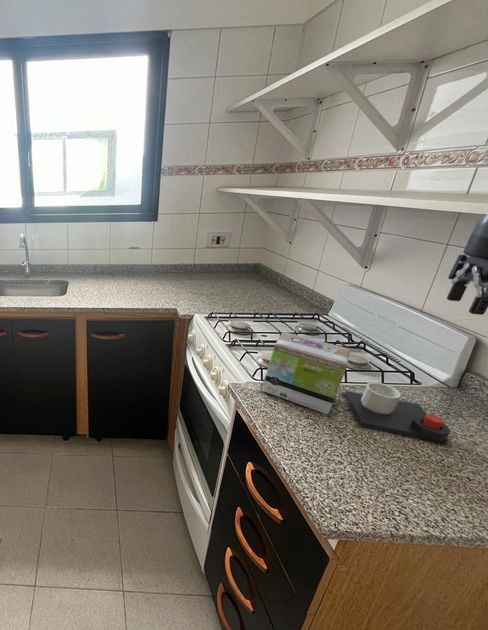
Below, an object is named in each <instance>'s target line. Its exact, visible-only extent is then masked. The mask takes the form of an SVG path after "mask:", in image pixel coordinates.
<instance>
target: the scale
mask: <svg viewBox="0 0 488 630" xmlns="http://www.w3.org/2000/svg"><path fill="white" fill-rule="evenodd" d="M343 395H344V397H345V399H346V401H347V403H348V404H349V406H350V408H351V411H352V412H353V414H354V416H355V418H356V420H357V422H358V424H359V425H360V427H361V428H367V429H372V430H377V431H381V432H386V433H390V434H396V435H400V436H405V437H410V438H415V439H418V440H419V439H420V440H424V441H429V442H434V443H439V444H443V445H446V444H447V442H448V436H449V435H450V432H451V429H450V428H449V427H448V425H446V424H445V423H443V424H442V426H441V428H440V430H435V429H432V428H429V427H427V426H425V425H424V424H423V423H422V422H423V420H424V418H425V416H426V415H427V412H426V411H425V410H424V409H423V408H422V406H421V405H420V403H414V402H409V401H402V400H399V401H398V403H397V405H396V408H395V410H394V412H392V413H390V414H379V413H376V412H373V411H371V410H369V409H367V408H366V407H364V406H363V404H362V401H361V398H362V396H363V393H359V392H354V391H349V390H345V391H344V393H343Z"/></svg>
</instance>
